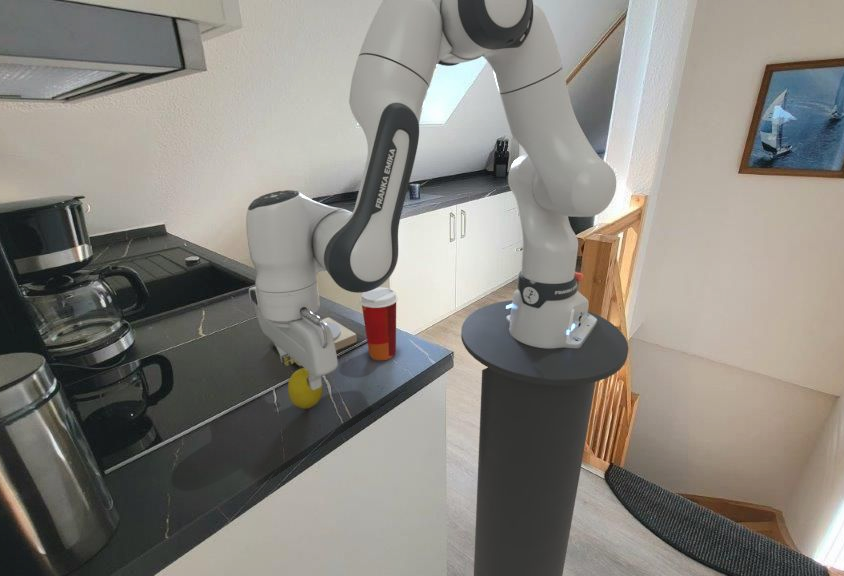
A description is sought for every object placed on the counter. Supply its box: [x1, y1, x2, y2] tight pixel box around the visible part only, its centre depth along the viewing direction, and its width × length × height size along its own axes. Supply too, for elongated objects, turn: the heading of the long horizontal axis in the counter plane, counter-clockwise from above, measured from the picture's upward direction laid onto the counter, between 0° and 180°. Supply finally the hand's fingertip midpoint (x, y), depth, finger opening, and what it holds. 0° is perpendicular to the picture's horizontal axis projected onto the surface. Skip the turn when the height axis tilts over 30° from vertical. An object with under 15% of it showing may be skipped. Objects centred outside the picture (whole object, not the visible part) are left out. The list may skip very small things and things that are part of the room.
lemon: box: [287, 367, 323, 409], centre depth 69 cm, size 6×6×8 cm
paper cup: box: [359, 286, 399, 361], centre depth 84 cm, size 8×8×14 cm
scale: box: [273, 316, 358, 367], centre depth 90 cm, size 14×12×3 cm
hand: (300, 374), depth 68 cm, fingers open, 8 cm apart
